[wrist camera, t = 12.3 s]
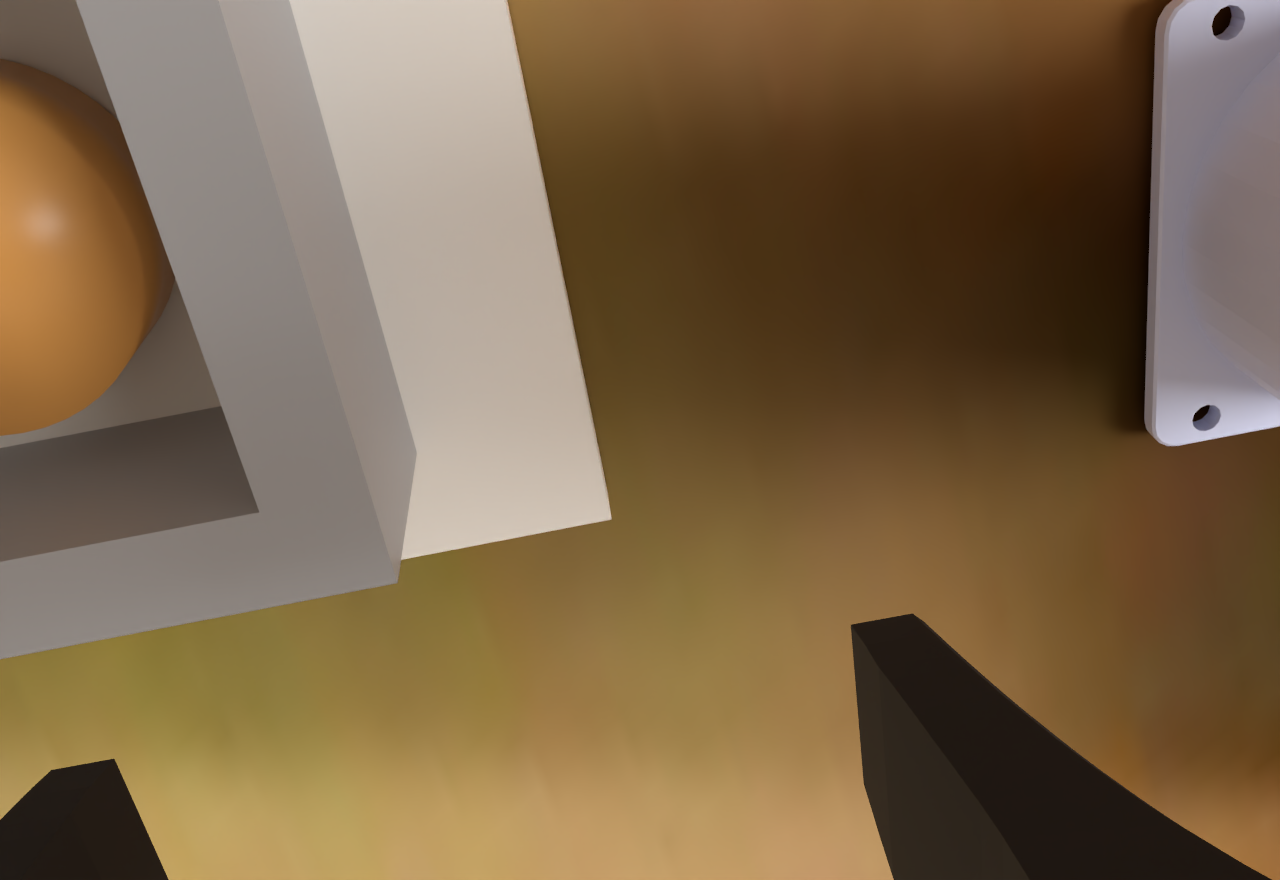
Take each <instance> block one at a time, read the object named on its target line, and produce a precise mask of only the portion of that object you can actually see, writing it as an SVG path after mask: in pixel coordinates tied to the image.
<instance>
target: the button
mask: <svg viewBox="0 0 1280 880" xmlns="http://www.w3.org/2000/svg"><path fill="white" fill-rule="evenodd" d="M174 281H175V276H174V273H173V270H172V267H171V265H170V262H169V259H168V256H167V253H166V251H165V248H164V245H163V242H162V239H161V237H160V234H159V231H158V228H157V226H156V223H155V220H154V217H153V214H152V212H151V209H150V206H149V203H148V200H147V198H146V195H145V192H144V189H143V187H142V184H141V181H140V178H139V175H138V173H137V170H136V167H135V164H134V161H133V159H132V156H131V153H130V150H129V148H128V145H127V142H126V139H125V136H124V134H123V131H122V128H121V125H120V122H119V121H118V120H117V119H116V118H115V117H114V116H113V115H112V114H110V113H109V112H108V111H107V110H106V109H105V108H103V107H102V106H101V105H100V104H99V103H98V102H96V101H95V100H93V99H92V98H90V97H89V96H87V95H86V94H84V93H83V92H81V91H80V90H79V89H77V88H75V87H74V86H72V85H70V84H68V83H66V82H64V81H62V80H60V79H59V78H57V77H55V76H53V75H50V74H48V73H45V72H43V71H40V70H38V69H35V68H33V67H30V66H27V65H23V64H19V63H15V62H12V61H8V60H4V59H0V436H4V435H12V434H19V433H25V432H29V431H33V430H37V429H41V428H45V427H48V426H50V425H53V424H55V423H58V422H60V421H63V420H65V419H67V418H69V417H71V416H73V415H74V414H76V413H78V412H80V411H81V410H83V409H85V408H86V407H87V406H89V405H90V404H91V403H92V402H94V401H95V400H96V399H98V398H99V397H100V396H101V395H102V394H103V393H104V392H105V391H106V390H107V389H108V388H109V387H110V386H111V385H112V384H113V383H114V382H115V380H116V379H117V378H118V376H119V375H120V373H121V372H122V371H123V369H124V368H125V366H126V365H127V364H128V362H129V361H130V359H131V358H132V356H133V355H134V354H135V352H136V351H137V349H138V348H139V347H140V345H141V344H142V342H143V341H144V340H145V338H146V337H147V335H148V334H149V333H150V331H151V330H152V328H153V327H154V325H155V324H156V323H157V321H158V320H159V318H160V317H161V315H162V313H163V311H164V309H165V307H166V304H167V302H168V300H169V298H170V294H171V291H172V288H173V285H174Z"/></svg>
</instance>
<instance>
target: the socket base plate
mask: <svg viewBox="0 0 1280 880" xmlns="http://www.w3.org/2000/svg"><path fill="white" fill-rule="evenodd" d="M0 59H4V60H8V61H12V62H15V63H19V64H23V65H27V66H30V67H33V68H35V69H38V70H40V71H43V72H45V73H48V74H50V75H53V76H55V77H57V78H59V79H60V80H62V81H64V82H66V83H68V84H70V85H72V86H74V87H75V88H77V89H79V90H80V91H81V92H83V93H84V94H86V95H87V96H89V97H90V98H92V99H93V100H95V101H96V102H98V103H99V104H100V105H101V106H102V107H103V108H105V109H106V110H107V111H108V112H109V113H110V114H112V115H113V116H114V117H115V118H116V119H117V120H118V121H119V122H120V125H121V128H122V131H123V134H124V136H125V139H126V142H127V145H128V148H129V150H130V153H131V156H132V159H133V161H134V164H135V167H136V170H137V173H138V175H139V178H140V181H141V184H142V187H143V189H144V192H145V195H146V198H147V200H148V203H149V206H150V209H151V212H152V214H153V217H154V220H155V223H156V226H157V228H158V231H159V234H160V237H161V239H162V242H163V245H164V248H165V251H166V253H167V256H168V259H169V262H170V265H171V267H172V270H173V273H174V276H175V281H174V285H173V288H172V291H171V294H170V298H169V300H168V302H167V304H166V307H165V309H164V311H163V313H162V315H161V317H160V318H159V320H158V321H157V323H156V324H155V325H154V327H153V328H152V330H151V331H150V333H149V334H148V335H147V337H146V338H145V340H144V341H143V342H142V344H141V345H140V347H139V348H138V349H137V351H136V352H135V354H134V355H133V356H132V358H131V359H130V361H129V362H128V364H127V365H126V366H125V368H124V369H123V371H122V372H121V373H120V375H119V376H118V378H117V379H116V380H115V382H114V383H113V384H112V385H111V386H110V387H109V388H108V389H107V390H106V391H105V392H104V393H103V394H102V395H101V396H100V397H99V398H98V399H96V400H95V401H94V402H92V403H91V404H90V405H89V406H87V407H86V408H85V409H83V410H81V411H80V412H78V413H76V414H74V415H73V416H71V417H69V418H67V419H65V420H63V421H60V422H58V423H55V424H53V425H50V426H48V427H45V428H41V429H37V430H33V431H29V432H25V433H19V434H12V435H4V436H0V659H4V658H9V657H14V656H20V655H25V654H30V653H35V652H41V651H46V650H51V649H56V648H61V647H67V646H72V645H77V644H82V643H87V642H93V641H98V640H103V639H108V638H113V637H119V636H124V635H129V634H134V633H140V632H145V631H150V630H155V629H160V628H166V627H171V626H176V625H181V624H186V623H192V622H197V621H202V620H207V619H213V618H218V617H223V616H228V615H233V614H239V613H244V612H249V611H254V610H259V609H265V608H270V607H275V606H280V605H285V604H291V603H296V602H301V601H306V600H312V599H317V598H322V597H327V596H332V595H338V594H343V593H348V592H353V591H358V590H364V589H369V588H374V587H379V586H384V585H390V584H395V583H398V577H399V570H400V563H401V560H403V559H408V558H413V557H418V556H423V555H429V554H434V553H439V552H444V551H449V550H455V549H460V548H465V547H470V546H476V545H481V544H486V543H491V542H496V541H502V540H507V539H512V538H517V537H523V536H528V535H533V534H538V533H543V532H549V531H554V530H559V529H564V528H569V527H575V526H580V525H585V524H590V523H596V522H601V521H606V520H611V512H610V505H609V498H608V491H607V487H606V482H605V477H604V472H603V467H602V462H601V457H600V452H599V447H598V442H597V438H596V433H595V428H594V423H593V418H592V413H591V408H590V403H589V398H588V393H587V389H586V384H585V379H584V374H583V369H582V364H581V359H580V354H579V349H578V345H577V340H576V335H575V330H574V325H573V320H572V315H571V310H570V305H569V300H568V296H567V291H566V286H565V281H564V276H563V271H562V266H561V261H560V256H559V251H558V247H557V242H556V237H555V232H554V227H553V222H552V217H551V212H550V207H549V202H548V198H547V193H546V188H545V183H544V178H543V173H542V168H541V163H540V158H539V154H538V149H537V144H536V139H535V134H534V129H533V124H532V119H531V114H530V109H529V105H528V100H527V95H526V90H525V85H524V80H523V75H522V70H521V65H520V60H519V56H518V51H517V46H516V41H515V36H514V31H513V26H512V21H511V16H510V11H509V7H508V2H507V0H0Z"/></svg>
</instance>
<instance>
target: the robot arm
mask: <svg viewBox="0 0 1280 880" xmlns="http://www.w3.org/2000/svg"><path fill="white" fill-rule="evenodd" d="M1226 6H1229V7H1230V10H1231V14H1232V17H1231V21H1230V24H1229V26H1228V27H1227V29H1226V30H1225V31H1224V32H1223V33H1221V34H1219V35H1217V36H1214V35H1213V31H1212V23H1213V19H1214V17H1215V15H1216V14H1217V13H1218V12H1219V11H1220V9H1222V8H1224V7H1226ZM1206 405H1210V407H1209V410H1208V413H1207V414H1206V415H1205V416H1204V417H1203V418H1202V419H1200V420H1198V421H1195V422H1193V421H1192V420H1193V417H1194V414H1195V413H1196V412H1197V411H1198V410H1199V409H1200V408H1201V407H1204V406H1206ZM1144 421H1145V426H1146V429H1147V431H1148V432H1149V433H1150V434H1151V435H1152V436H1153V437H1154V438H1155V439H1156V440H1157V441H1158V442H1159V443H1161V444H1164V445H1166V446H1179V445H1185V444H1190V443H1195V442H1200V441H1205V440H1211V439H1216V438H1221V437H1226V436H1231V435H1237V434H1242V433H1247V432H1252V431H1258V430H1263V429H1268V428H1273V427H1278V426H1280V0H1172V1H1171V2H1170V3H1169V4H1168V5H1166V6H1165V8H1164V9H1163V11H1162V13H1161V15H1160V16H1159V18H1158V22H1157V26H1156V31H1155V63H1154V98H1153V133H1152V168H1151V203H1150V237H1149V272H1148V307H1147V342H1146V377H1145V412H1144ZM851 632H852V644H853V657H854V669H855V681H856V693H857V705H858V718H859V730H860V742H861V754H862V766H863V778H864V786H865V789H866V792H867V795H868V799H869V802H870V805H871V808H872V812H873V815H874V818H875V822H876V825H877V828H878V831H879V835H880V838H881V841H882V844H883V847H884V850H885V854H886V857H887V860H888V863H889V866H890V869H891V872H892V875H893V878H894V880H1271V879H1269V878H1268V877H1266V876H1264V875H1262V874H1260V873H1259V872H1257V871H1255V870H1253V869H1251V868H1250V867H1248V866H1246V865H1244V864H1243V863H1241V862H1239V861H1238V860H1236V859H1234V858H1233V857H1231V856H1229V855H1228V854H1226V853H1224V852H1223V851H1221V850H1219V849H1218V848H1216V847H1214V846H1213V845H1211V844H1210V843H1208V842H1206V841H1205V840H1203V839H1201V838H1200V837H1198V836H1196V835H1195V834H1193V833H1191V832H1190V831H1188V830H1186V829H1185V828H1183V827H1182V826H1180V825H1179V824H1177V823H1175V822H1174V821H1172V820H1171V819H1169V818H1168V817H1166V816H1165V815H1163V814H1162V813H1160V812H1159V811H1157V810H1156V809H1154V808H1153V807H1152V806H1150V805H1149V804H1147V803H1146V802H1144V801H1143V800H1141V799H1140V798H1138V797H1137V796H1136V795H1134V794H1133V793H1131V792H1130V791H1129V790H1127V789H1126V788H1124V787H1123V786H1122V785H1120V784H1119V783H1117V782H1116V781H1115V780H1113V779H1112V778H1110V777H1109V776H1108V775H1106V774H1105V773H1103V772H1102V771H1101V770H1099V769H1098V768H1097V767H1095V766H1094V765H1093V764H1091V763H1090V762H1089V761H1087V760H1086V759H1085V758H1083V757H1082V756H1081V755H1079V754H1078V753H1077V752H1075V751H1074V750H1073V749H1071V748H1070V747H1069V746H1068V745H1066V744H1065V743H1064V742H1063V741H1061V740H1060V739H1059V738H1058V737H1056V736H1055V735H1054V734H1053V733H1051V732H1050V731H1049V730H1048V729H1046V728H1045V727H1044V726H1043V725H1041V724H1040V723H1039V722H1038V721H1036V720H1035V719H1034V718H1033V717H1031V716H1030V715H1029V714H1028V713H1026V712H1025V711H1024V710H1023V709H1021V708H1020V707H1019V706H1018V705H1017V704H1016V703H1014V702H1013V701H1012V700H1011V699H1010V698H1008V697H1007V696H1006V695H1005V694H1004V693H1002V692H1001V691H1000V690H999V689H998V688H997V687H996V686H994V685H993V684H992V683H991V682H990V681H989V680H988V679H986V678H985V677H984V676H983V675H982V674H981V673H979V672H978V671H977V670H976V669H975V668H974V667H973V666H972V665H970V664H969V663H968V662H967V661H966V660H965V659H964V658H963V657H962V656H960V655H959V654H958V653H957V652H956V651H955V650H954V649H953V648H952V647H951V646H949V645H948V644H947V643H946V642H945V641H944V640H943V639H942V638H941V637H940V636H939V635H938V634H936V633H935V632H934V631H933V630H932V629H931V628H930V627H929V626H928V625H927V624H926V623H925V622H923V621H922V620H921V619H919V618H918V617H916V616H915V615H914V614H908V615H902V616H897V617H891V618H886V619H880V620H875V621H869V622H864V623H858V624H853V625H851ZM0 880H168V878H167V875H166V873H165V871H164V869H163V866H162V864H161V862H160V860H159V858H158V855H157V853H156V851H155V849H154V846H153V844H152V842H151V840H150V837H149V835H148V833H147V831H146V829H145V826H144V824H143V822H142V820H141V817H140V815H139V813H138V811H137V808H136V806H135V804H134V802H133V800H132V797H131V795H130V793H129V791H128V788H127V786H126V784H125V782H124V780H123V777H122V775H121V773H120V771H119V768H118V766H117V764H116V762H115V759H110V760H105V761H99V762H94V763H88V764H83V765H77V766H72V767H66V768H61V769H55V770H51V771H50V772H49V773H48V774H47V775H46V776H45V777H43V778H42V779H41V780H40V781H39V782H38V783H37V784H36V785H35V786H34V787H33V788H32V789H31V790H30V791H29V792H28V793H27V794H26V795H25V796H24V797H23V798H22V799H21V800H20V801H19V802H18V803H17V804H16V805H15V806H14V807H13V808H12V809H11V810H10V811H9V812H8V813H7V814H6V815H5V816H4V817H3V818H2V819H1V820H0Z"/></svg>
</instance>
